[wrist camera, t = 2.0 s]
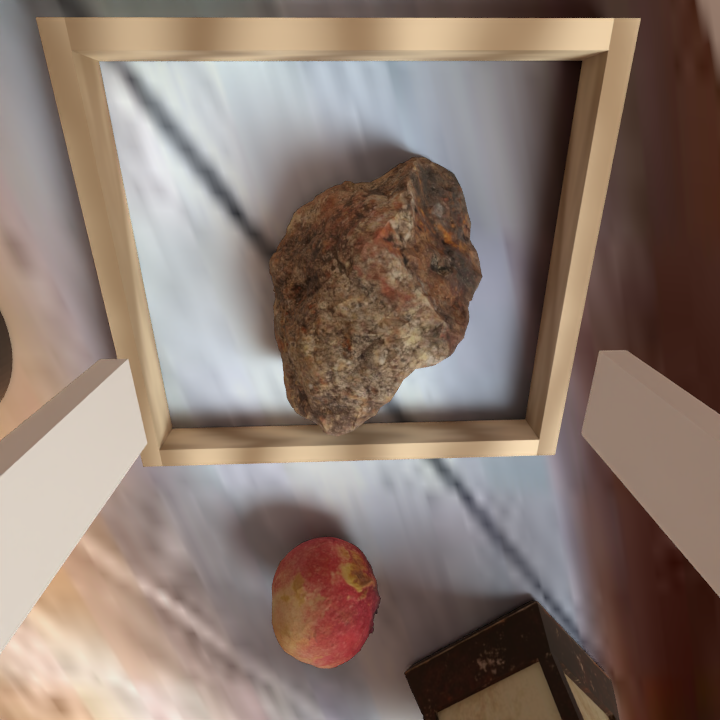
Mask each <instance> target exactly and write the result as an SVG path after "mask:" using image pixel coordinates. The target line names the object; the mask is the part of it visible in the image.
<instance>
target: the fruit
mask: <svg viewBox="0 0 720 720" xmlns="http://www.w3.org/2000/svg"><path fill="white" fill-rule="evenodd" d="M380 599H381V598H380V596H379V594H378V590H377V581H376V578H375V577H374V574H373V571H372V567H371V565H370V563H369V562H368V560H367V558H366V557H365V555H364V554H363V552H362V551H361V550H360V549H359V548H358V547H356V546H355V545H353V544H351V543H349V542H347V541H344V540H342V539H339V538H335V537H319V538H315V539H311V540H308V541H306V542H303V543H301V544H300V545H298V546H296V547H295V548H294V549H293V550H291V551H290V552H289V553H288V554H287V555H286V556H285V557H284V558H283V559H282V560H281V561H280V564H279V566H278V568H277V570H276V573H275V576H274V579H273V583H272V625H273V629H274V633H275V636H276V638H277V640H278V642H279V644H280V646H281V647H282V649H283V650H284V651H285V652H286V653H288V654H289V655H291V656H293V657H294V658H296V659H297V660H299V661H301V662H304V663H306V664H311V665H313V666H316V667H318V668H329V669H330V668H333V667H337V666H338V665H341V664H343V663H344V662H347V661H349V660H350V659H351V658H352V657H354V656H355V655H356V654H357V653H358V652H359V651H360V650H361V648H362V646H363V645H364V643H365V641H366V640H367V638H368V637H369V634H370V633H372V632H373V630H374V629H373V625H374V623H373V619H374V615H375V614H377V609H378V608H379V603H380Z"/></svg>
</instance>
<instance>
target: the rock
mask: <svg viewBox="0 0 720 720" xmlns="http://www.w3.org/2000/svg"><path fill="white" fill-rule="evenodd" d="M470 228H471V222H470V218H469V215H468V212H467V207H466V202H465V198H464V195H463V191H462V189H461V186H460V184H459V183H458V181H457V179H456V177H455V175H454V174H453V173H452V172H450V171H448V170H447V169H445V168H444V167H442V166H440V165H438V164H436V163H433V162H431V161H430V160H428V159H427V158H424V157H412V158H411V159H410V160H408V161H406V162H405V163H400V164H399V165H398V166H397V167H395V168H392V169H391V170H390V171H389V172H388V173H386V174H385V175H383V176H382V177H380V178H378V179H376V180H374V181H372V182H361V183H356V184H354V183H353V182H350V181H345V182H344V183H343V184H341V185H336V186H333V187H331V188H329V189H327V190H326V191H324V192H323V193H321V194H319V195H317V196H316V197H315V198H314V200H313V201H311V202H309V203H307V204H305V205H303V206H302V207H301V208H299V209H298V210H297V211H296V212H294V214H293V218H292V219H291V221H290V224H289V225H288V227H287V231H286V235H285V236H284V238H283V239H282V241H281V242H280V243H279V245H278V247H277V251H276V253H274V254H273V255H272V257H271V259H270V262H269V268H270V269H269V271H270V275H271V276H272V281H273V285H274V290H273V291H274V292H275V302H274V307H273V310H274V315H275V316H274V331H275V339H276V341H277V344H278V348H279V350H280V352H281V358H282V362H283V371H284V384H285V387H286V394H287V399H288V401H289V403H290V405H291V406H292V408H294V410H295V412H296V413H297V414H299V415H300V416H302V417H304V418H305V419H308V420H311V421H312V422H314V423H316V424H318V425H320V427H321V429H322V431H323V432H324V433H325V434H328V435H332V436H337V437H338V436H340V435H343V434H346V433H349V432H352V431H354V430H355V429H356V428H357V427H359V426H360V425H361V424H363V423H364V422H365V421H367V420H368V419H369V418H371V417H373V416H375V415H376V414H377V412H378V411H379V409H380V407H382V406H383V405H385V404H386V403H388V402H389V401H391V399H392V398H393V396H394V395H395V393H396V391H397V390H398V388H399V386H400V385H401V383H402V381H403V379H405V378H406V377H407V376H408V375H410V374H411V373H412V372H413V371H414V370H415V369H418V368H424V367H429V366H433V365H436V364H437V363H439V362H441V361H442V360H444V359H446V358H447V357H449V356H451V354H452V353H453V352H454V351H455V349H456V347H457V345H458V344H459V342H460V341H461V340H462V339H463V338H464V335H465V331H466V328H467V325H468V323H469V311H468V306H469V301H471V300H472V298H473V294H474V292H475V291H476V289H477V287H478V285H479V283H480V281H481V278H482V274H481V269H480V262H479V258H478V254H477V251H476V249H475V248H474V246H473V245H472V243H471V241H470Z"/></svg>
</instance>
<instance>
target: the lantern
mask: <svg viewBox="0 0 720 720" xmlns="http://www.w3.org/2000/svg"><path fill="white" fill-rule="evenodd" d="M404 674H405V676H406V678H407V681H408V683H409V686H410V688H411V691H412V693H413V695H414V697H415V699H416V702H417V704H418V706H419V708H420V710H421V712H422V715H423V719H424V720H619V715H618V710H617V704H616V699H615V694H614V690H613V686H612V682H611V679H610V678H609V677H608V676H607V675H606V674H605V673H604V672H603V670H602V669H601V668H600V667H599V666H598V665H597V664H596V663H595V662H594V661H593V660H592V659H591V658H590V657H589V656H588V655H587V654H586V653H585V651H584V650H583V649H582V648H581V647H580V646H579V645H578V644H577V643H576V642H575V641H574V640H573V639H572V638H571V637H570V636H569V635H568V634H567V633H566V631H565V630H564V629H563V628H562V627H561V626H560V625H559V624H558V623H557V622H556V621H555V620H554V619H553V618H552V617H551V616H550V615H549V614H548V612H547V611H546V610H545V609H544V608H543V607H542V606H541V605H540V604H539V603H538V602H537V601H530V602H528V603H527V604H525V605H523V606H521V607H519V608H517V609H516V610H514V611H512V612H510V613H508V614H506V615H504V616H503V617H501V618H499V619H497V620H495V621H493V622H492V623H490V624H488V625H486V626H484V627H482V628H480V629H479V630H477V631H475V632H473V633H471V634H469V635H468V636H466V637H464V638H462V639H460V640H458V641H456V642H455V643H453V644H451V645H449V646H447V647H445V648H444V649H442V650H440V651H438V652H436V653H434V654H432V655H431V656H429V657H427V658H425V659H423V660H421V661H420V662H418V663H416V664H414V665H412V666H411V667H410V668H409V669H408V670H407V671H406V672H405V673H404Z"/></svg>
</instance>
